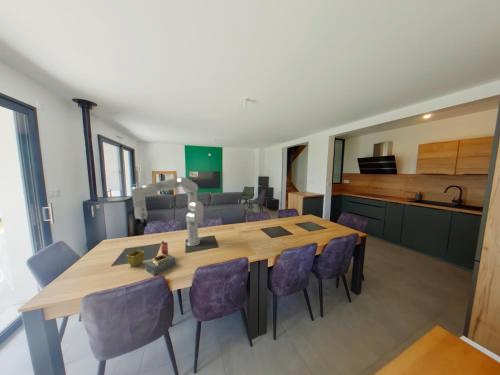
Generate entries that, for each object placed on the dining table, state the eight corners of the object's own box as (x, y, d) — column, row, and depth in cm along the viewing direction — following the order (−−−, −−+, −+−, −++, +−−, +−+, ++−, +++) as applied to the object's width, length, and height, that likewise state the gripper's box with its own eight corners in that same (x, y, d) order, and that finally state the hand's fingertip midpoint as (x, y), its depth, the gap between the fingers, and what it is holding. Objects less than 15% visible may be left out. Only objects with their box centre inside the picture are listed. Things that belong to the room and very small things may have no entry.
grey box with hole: (166, 260, 136) (166, 251, 135) (175, 264, 129) (174, 255, 128) (145, 270, 122) (144, 260, 122) (154, 275, 116) (153, 265, 115)
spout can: (166, 256, 142) (165, 238, 140) (169, 258, 139) (168, 240, 138) (161, 258, 138) (159, 240, 136) (164, 260, 135) (162, 242, 134)
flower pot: (138, 260, 136) (137, 249, 135) (145, 262, 133) (144, 251, 132) (126, 266, 128) (125, 255, 127) (134, 268, 125) (133, 257, 124)
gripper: (150, 203, 123) (152, 226, 124) (139, 201, 132) (141, 222, 134) (139, 205, 116) (141, 229, 118) (128, 203, 126) (130, 225, 128)
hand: (141, 225), depth 126 cm, fingers open, 9 cm apart
